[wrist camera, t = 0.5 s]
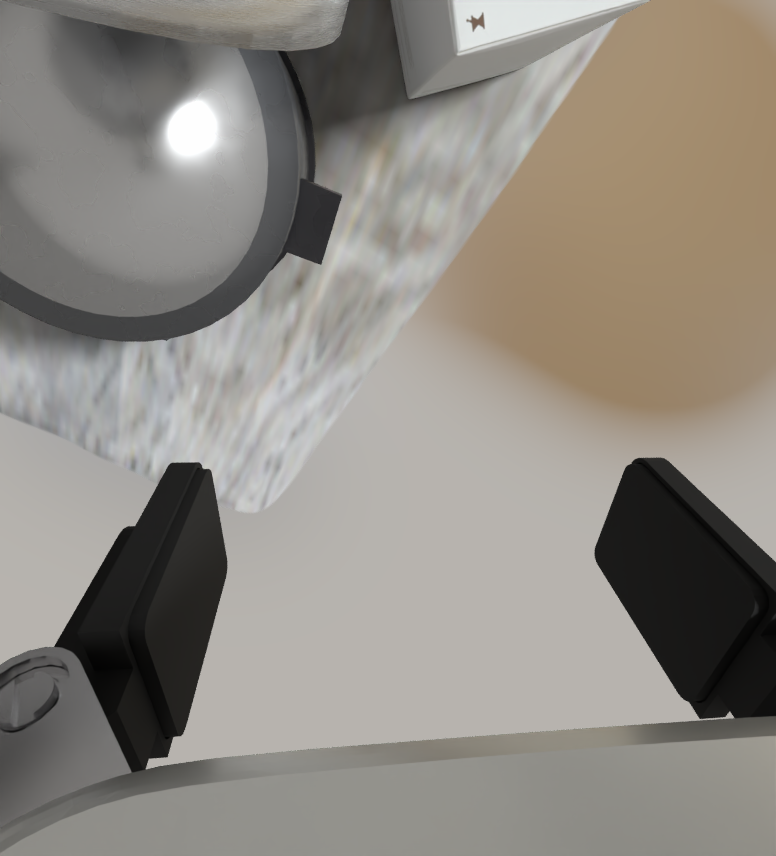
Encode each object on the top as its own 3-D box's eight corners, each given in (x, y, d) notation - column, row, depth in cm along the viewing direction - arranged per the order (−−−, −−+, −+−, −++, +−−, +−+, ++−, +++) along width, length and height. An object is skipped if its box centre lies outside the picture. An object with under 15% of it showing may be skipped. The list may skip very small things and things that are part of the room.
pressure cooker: (-45, -185, 24) (-327, -442, 14) (385, 38, 31) (410, -25, 20) (-31, 234, 34) (-193, 266, 24) (295, 339, 40) (280, 402, 30)
